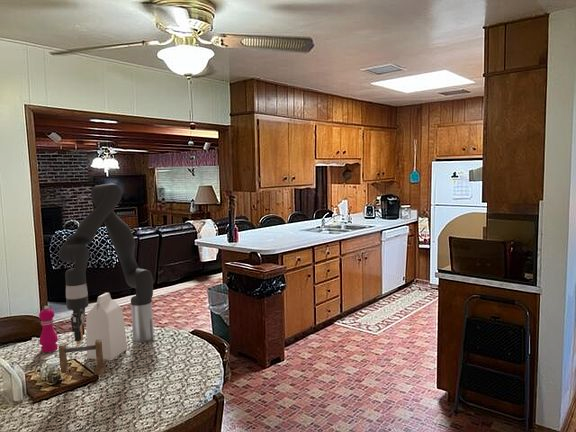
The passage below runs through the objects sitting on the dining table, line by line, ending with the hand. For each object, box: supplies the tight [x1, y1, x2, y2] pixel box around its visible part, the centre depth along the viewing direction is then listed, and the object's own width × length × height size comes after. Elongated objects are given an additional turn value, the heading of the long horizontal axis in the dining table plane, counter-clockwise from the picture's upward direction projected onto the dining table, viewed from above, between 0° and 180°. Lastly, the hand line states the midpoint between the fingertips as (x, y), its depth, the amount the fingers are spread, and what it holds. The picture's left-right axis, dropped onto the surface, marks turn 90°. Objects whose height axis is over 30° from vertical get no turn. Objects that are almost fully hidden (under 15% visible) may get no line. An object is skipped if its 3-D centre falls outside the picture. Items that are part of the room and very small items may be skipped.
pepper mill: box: [38, 305, 59, 353], centre depth 194 cm, size 7×7×20 cm
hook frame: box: [58, 339, 107, 376], centre depth 170 cm, size 16×10×12 cm, turn 105°
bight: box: [75, 322, 84, 345], centre depth 169 cm, size 1×6×7 cm, turn 15°
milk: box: [85, 292, 129, 361], centre depth 188 cm, size 12×12×26 cm
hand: (79, 337), depth 170 cm, fingers closed on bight, 5 cm apart
